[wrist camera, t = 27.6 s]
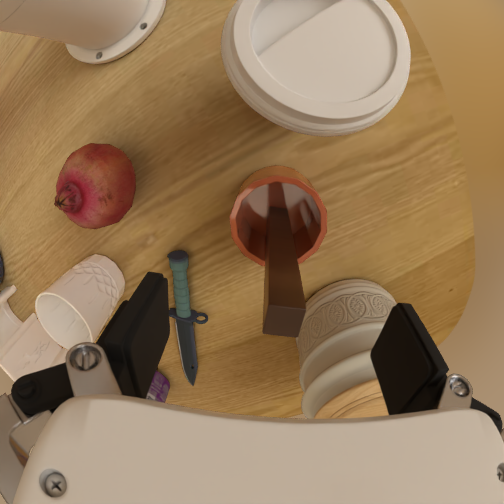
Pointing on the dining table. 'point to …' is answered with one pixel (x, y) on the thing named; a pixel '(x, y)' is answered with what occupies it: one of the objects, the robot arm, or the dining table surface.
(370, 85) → the coffee cup
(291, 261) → the stick
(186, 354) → the knife
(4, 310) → the bracket
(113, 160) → the fruit
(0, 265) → the bowl
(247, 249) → the holder
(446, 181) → the dining table surface
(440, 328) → the dining table surface
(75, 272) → the white cup
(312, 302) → the jar
